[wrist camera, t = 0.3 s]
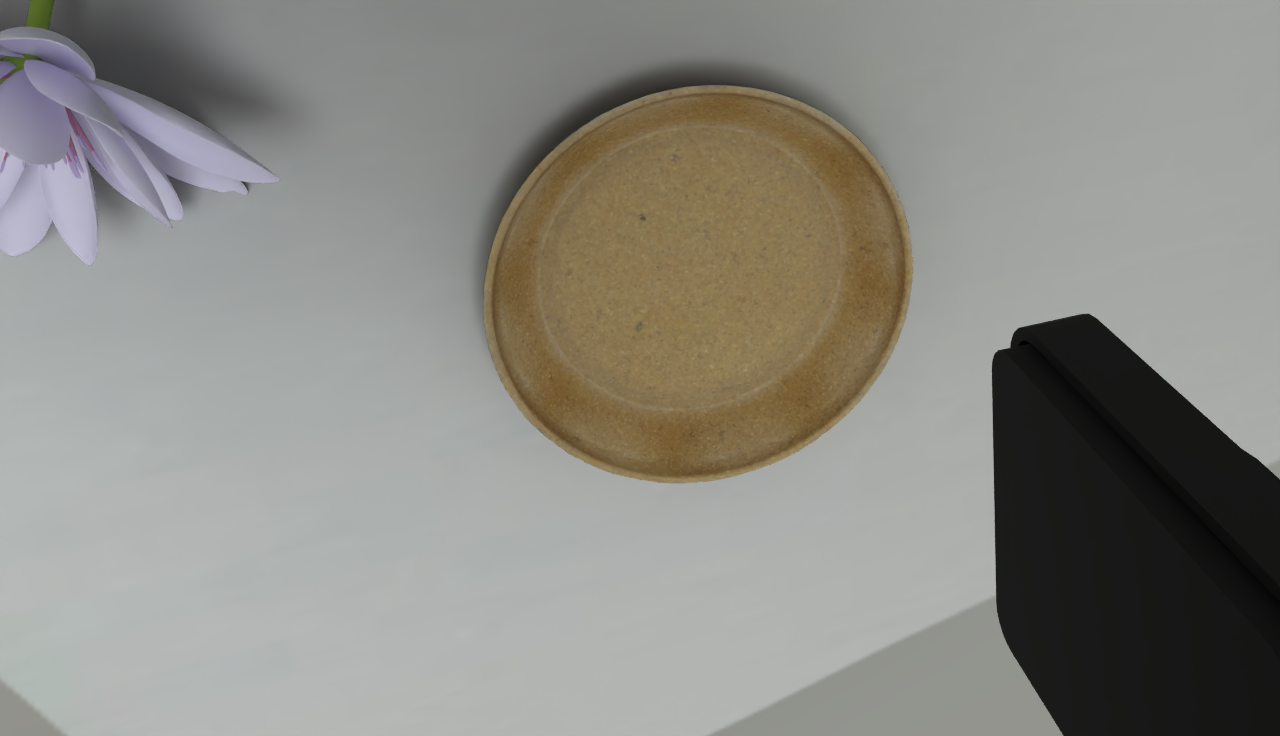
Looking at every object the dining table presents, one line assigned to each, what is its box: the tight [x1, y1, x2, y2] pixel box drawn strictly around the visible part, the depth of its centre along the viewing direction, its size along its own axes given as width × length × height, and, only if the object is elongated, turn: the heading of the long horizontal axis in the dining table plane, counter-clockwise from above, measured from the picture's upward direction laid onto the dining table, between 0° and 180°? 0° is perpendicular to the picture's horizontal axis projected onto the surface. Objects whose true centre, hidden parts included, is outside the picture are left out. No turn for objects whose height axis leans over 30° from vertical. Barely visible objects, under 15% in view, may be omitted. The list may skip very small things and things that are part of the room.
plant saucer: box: [483, 85, 913, 483], centre depth 42 cm, size 15×15×3 cm
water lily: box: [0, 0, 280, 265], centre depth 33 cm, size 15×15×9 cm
